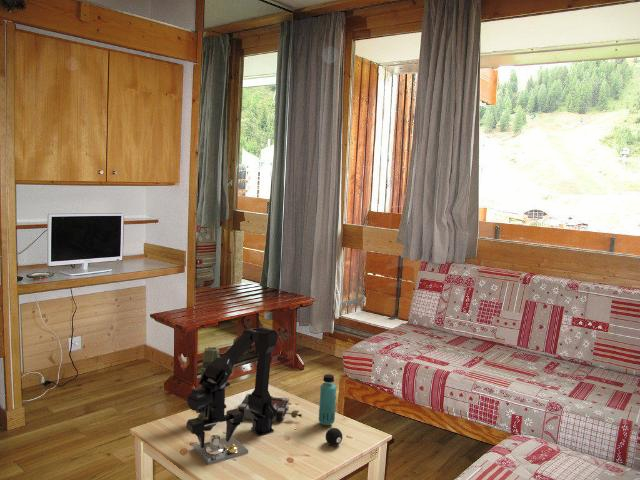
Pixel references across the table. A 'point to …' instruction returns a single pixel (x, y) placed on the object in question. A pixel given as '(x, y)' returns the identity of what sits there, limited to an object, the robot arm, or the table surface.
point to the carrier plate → (230, 451)
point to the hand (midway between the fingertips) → (214, 444)
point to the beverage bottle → (327, 400)
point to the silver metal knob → (214, 446)
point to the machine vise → (276, 403)
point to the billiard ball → (333, 436)
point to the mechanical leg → (209, 356)
